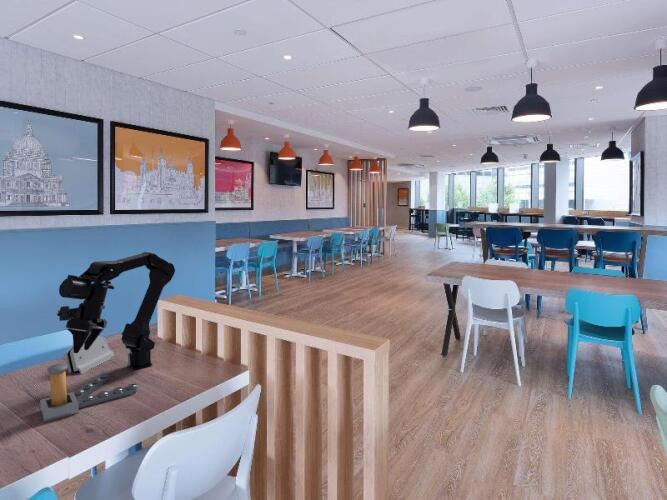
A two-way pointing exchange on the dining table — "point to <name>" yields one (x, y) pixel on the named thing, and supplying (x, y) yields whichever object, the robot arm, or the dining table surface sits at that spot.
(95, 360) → the hinge
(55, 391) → the pin
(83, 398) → the grey forked bracket
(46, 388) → the dining table surface
